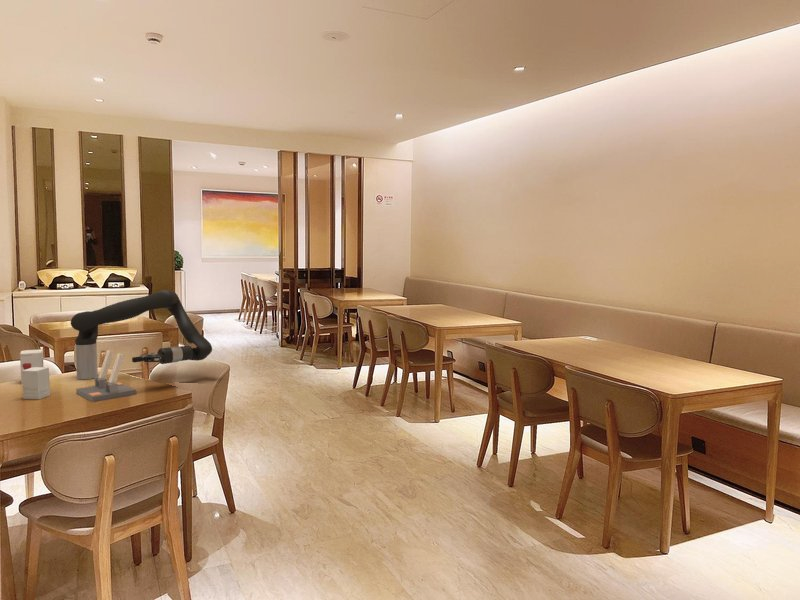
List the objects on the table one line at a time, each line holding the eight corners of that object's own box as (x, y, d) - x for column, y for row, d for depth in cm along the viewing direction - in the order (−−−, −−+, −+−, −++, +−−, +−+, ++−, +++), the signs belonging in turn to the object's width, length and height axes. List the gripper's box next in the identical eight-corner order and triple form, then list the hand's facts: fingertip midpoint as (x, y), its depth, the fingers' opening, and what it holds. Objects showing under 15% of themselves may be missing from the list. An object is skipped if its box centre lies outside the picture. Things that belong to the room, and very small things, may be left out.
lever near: (106, 386, 241) (117, 353, 244) (111, 387, 243) (122, 354, 246) (108, 387, 239) (120, 353, 242) (114, 388, 241) (125, 355, 244)
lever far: (96, 382, 249) (107, 349, 252) (101, 382, 251) (112, 350, 254) (98, 383, 247) (109, 350, 250) (103, 384, 249) (114, 351, 252)
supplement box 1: (20, 384, 261) (19, 353, 260) (22, 380, 269) (20, 350, 267) (43, 382, 265) (41, 351, 264) (44, 378, 273) (43, 348, 272)
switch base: (76, 393, 246) (75, 380, 246) (118, 386, 259) (118, 373, 259) (92, 401, 233) (92, 388, 232) (136, 394, 246) (135, 380, 245)
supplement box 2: (51, 395, 242) (49, 367, 241) (38, 399, 235) (36, 370, 234) (35, 394, 243) (34, 366, 242) (22, 399, 236) (20, 370, 235)
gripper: (163, 345, 265) (126, 349, 252) (176, 349, 256) (138, 353, 243) (164, 360, 265) (126, 365, 253) (177, 364, 257) (139, 370, 244)
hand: (132, 360), depth 248 cm, fingers closed
